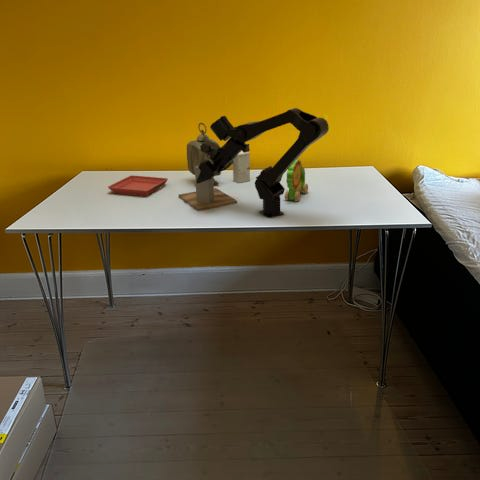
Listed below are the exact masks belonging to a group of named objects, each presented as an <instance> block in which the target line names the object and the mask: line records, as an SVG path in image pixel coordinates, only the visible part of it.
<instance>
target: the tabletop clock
mask: <svg viewBox="0 0 480 480" xmlns="http://www.w3.org/2000/svg"><path fill="white" fill-rule="evenodd" d="M201 125H202V126H203V127H204V129H205V131H204V129H200V127H201ZM198 131H199V132H200V134H198V135H197V137H196V140H191V141H189V142H187V144H186V160H187V162H186V163H187V169H188V172H189V173H191V174H192V175H193V176H195V167H196V166H198V165H199V164H200V163H201V162H203V161H205V160H209V161H210V162H211V163H212V164H214V163H213V162H212V161H213V160H211V159H210V158H209V157H210V155H208V154H206V153H204V152H201V151H200V149H201V148H200V146H201V145H202V143H203V142H204V141H207V140H209V141H211V142H213V143H215V144H217V145H218V146H219V147H221V146H220V144H219V142H217V141H216V140H214V139H212V138H210V137H209V136H208V134H206V133H207V126H206V124H205V123H204V122H200V123H199V124H198ZM221 174H222V171H221V172H219V173H218V174H217V175H216V176H215V177H217V176H218V177H219V176H221ZM215 177H213V185H214V186H218V185H219V183H218V181H216V180H215Z"/></svg>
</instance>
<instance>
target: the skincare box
mask: <svg viewBox="0 0 480 480" xmlns="http://www.w3.org/2000/svg"><path fill="white" fill-rule="evenodd" d="M250 156H251V155H250V151H249V152H246V153H244V152H243V151H241V152H240V153H239V154H238V155H237V156H236V158H235V159H234V160H233V164H232V176H233V177H232V178H233V179H232V180H233V182H235V183H237V184H240V183H245V182H249V181H250V180H251V173H250V172H251V169H250V167H251V165H250V164H251V163H250V161H251V160H250V159H251V158H250Z"/></svg>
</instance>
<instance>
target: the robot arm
mask: <svg viewBox="0 0 480 480" xmlns="http://www.w3.org/2000/svg"><path fill="white" fill-rule="evenodd" d="M287 124H290V125H292V126H293V127H294V128H295V129H296V130H297V131H298V132H299V133H298V137H297V139H296V140H295V141H294V142H293V144H292V145H291V146H290V147H289V148H288V149H287V151H286V152H285V153H284V154H283V155H282V156H281V157H280V159H278V161H277V162H276V163H275V164H274V165H273V166H271V165H269V166H268V167H266V168H264V169H262V170H261V171H260V173H259V175H257V176H255V181H254V187H255V189H256V192H257V195H258V198H259V200H262V209H261V210H259V211H258V213H259V214H261V215H263V216H264V217H267V218H268V219H269V218H273V217H278V216H283V215H285V213H284V212H283V211H281V196H282V195H284V194H285V191H286V189H285V187H284V186H283V185H282V184H281V181H282V178H283V175H284V174H285V173H287V172H286V171H288V168H289V167H290V166H291V165H292V164H293V163H294V162H295V161H296V160H297V159H299V157H300V156H301V155H302V154H303V153H304V152H305V151H306V150H307V149H308V148H309V147H310V146H311V145H313V144H315V143H316V142H317V141H318V140H320V139H321V138H322V137H324V136H325V135H327V133H328V132H329V130H330V129H329V127H330V126H329V123H328V121H327V120H326V119H325V118H323V117H317V116H315V115H314V114H311V113H308V112H305V111H303V110H301V109H299V108H298V107H294V108H291V109H288V110H286V111H284V112H282V113H279V114H277V115H274V116H270V117H269V118H266V119H263V120H257V121H249V122H247V123H243V124H240V125H237V126H234V125H233V124H232V123H231V122H230V120H229V119H228V117H227V116H226V115H222V116H220V118H218V119H216V121H214V122H212V124H211V125H210V126H209V128H210V130H211V131H212V132H213V133H214V135H215V136H216V138H217V139H218V140H219V141H224V142H225V143H224V144H222V146H220V145H219V146H220V147H219V146H218V145H217V144H215V143H213V142H211V141H209V140H207V141H204V142H203V143H202V145H201V146H200V148H201V149H200V151H201V152H204V153H206V154H208V155H210V157H209V158H210V159H211V160H213V161H212V162H213V163H214V164H212V163H211V162H210V161H209V160H205V161H203V162H201V163H200V164H199V166H198V168H199V169H200V174H199V176H198V178H197V180H196V181H195V184H196V183H197V184H199V183H201V182H204V181H207V180H210V179H212V178H215V177H217V176H216V175H217V174H218V173H219V172H221V173H222V172H223V171H226V170H227V169H228V168H230V167H232V166H233V160H234V159H235V158H236V156H237V155H238V154H239V153H240V152H241V151H243V152H244V153H246V152H249V153H250V152H251V150H250V144H249V143H246V142H250V141H251V140H254V139H256V138H259V136H261V135H262V134H264V133H266V132H267V131H270V130H273V129H276V128H279V127H281V126H285V125H287Z"/></svg>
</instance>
